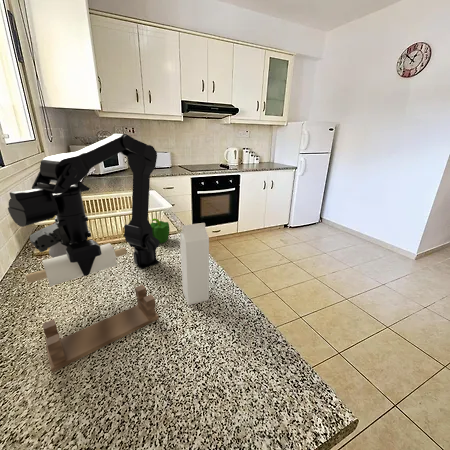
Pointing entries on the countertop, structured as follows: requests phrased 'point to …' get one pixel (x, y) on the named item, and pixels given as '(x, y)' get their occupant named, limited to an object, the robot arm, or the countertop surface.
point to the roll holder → (98, 332)
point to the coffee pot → (58, 249)
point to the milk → (195, 262)
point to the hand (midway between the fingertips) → (83, 269)
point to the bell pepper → (160, 230)
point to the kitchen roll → (74, 266)
